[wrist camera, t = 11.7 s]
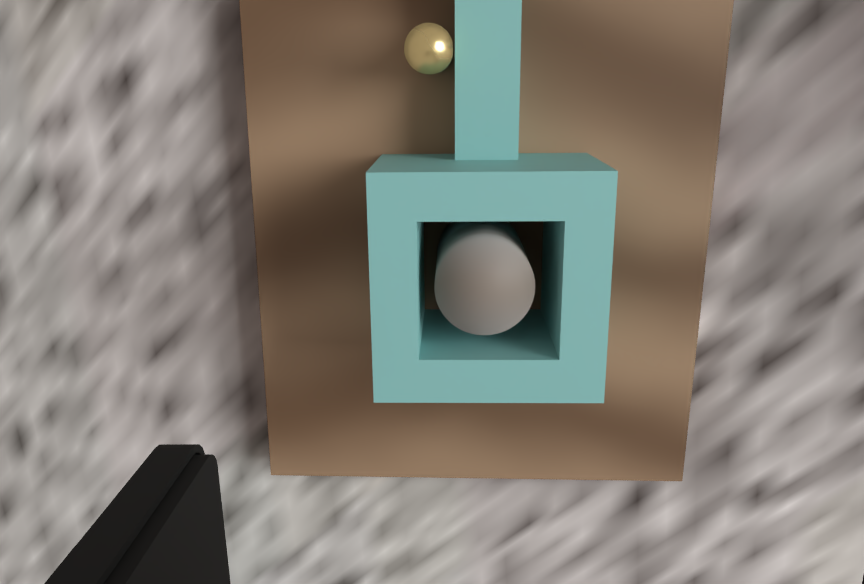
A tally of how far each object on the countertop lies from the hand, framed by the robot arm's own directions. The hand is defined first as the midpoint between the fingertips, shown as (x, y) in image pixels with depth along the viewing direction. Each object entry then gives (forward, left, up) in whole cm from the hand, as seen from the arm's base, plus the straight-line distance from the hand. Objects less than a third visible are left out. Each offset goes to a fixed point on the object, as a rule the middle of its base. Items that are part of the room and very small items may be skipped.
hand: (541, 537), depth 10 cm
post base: (0, 0, -18) cm, 18 cm away
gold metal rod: (+7, +2, -17) cm, 18 cm away
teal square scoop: (+3, 0, -17) cm, 17 cm away
